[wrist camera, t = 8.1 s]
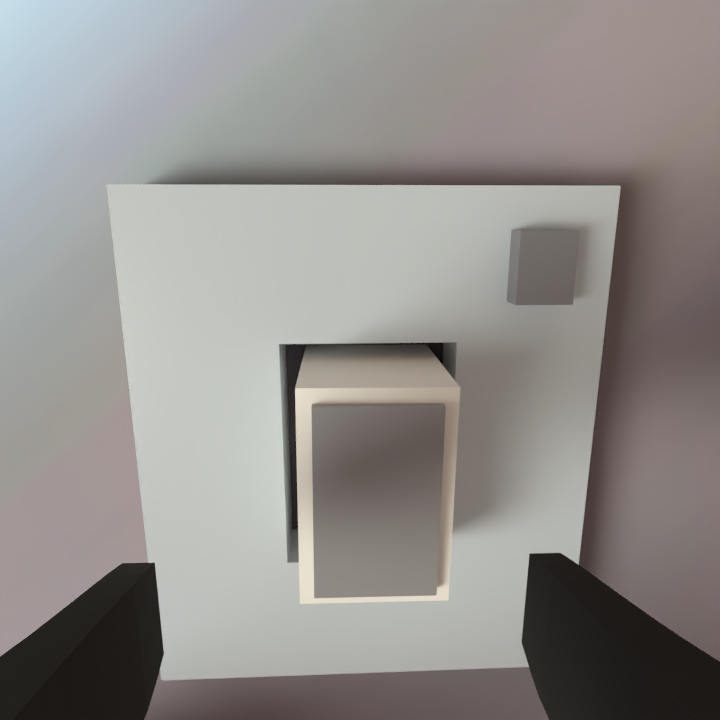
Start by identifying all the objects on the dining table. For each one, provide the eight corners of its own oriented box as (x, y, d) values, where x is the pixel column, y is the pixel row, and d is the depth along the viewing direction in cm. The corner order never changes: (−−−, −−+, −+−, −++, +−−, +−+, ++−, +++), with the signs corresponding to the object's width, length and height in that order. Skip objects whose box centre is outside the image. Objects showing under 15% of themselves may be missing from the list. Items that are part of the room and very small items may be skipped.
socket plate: (545, 624, 20) (577, 684, 18) (178, 636, 20) (153, 700, 17) (587, 190, 17) (636, 183, 14) (134, 189, 16) (93, 181, 13)
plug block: (419, 506, 19) (450, 608, 14) (308, 508, 19) (299, 612, 14) (426, 344, 18) (463, 390, 13) (306, 344, 18) (294, 392, 12)
